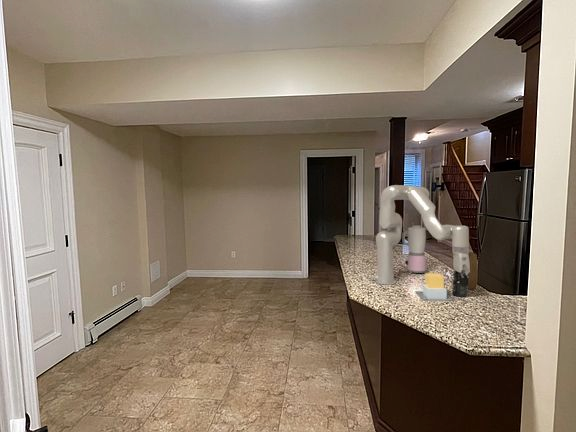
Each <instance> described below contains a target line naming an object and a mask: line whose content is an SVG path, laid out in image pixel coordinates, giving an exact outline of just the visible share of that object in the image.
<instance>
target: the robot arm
mask: <svg viewBox="0 0 576 432" xmlns="http://www.w3.org/2000/svg"><path fill="white" fill-rule="evenodd" d="M396 200H397V201H398V200H401V201H402V200H406V201H410V202H411V204H412V205H413V206H414V207H415V209H416V211H418V213H419V214H420V215H421V219H422V222H423V225H424V228H427V229H426V230H427V231H428V232H429V234H430V235H431V236H432V237H433V238H434V239H436V240H437V241H444V240H448V239H451V242H452V247H451V248H452V254H453V260H452V261H453V263H452V264H453V265H452V266H453V279H455V274H461V276H462V277H461V285H462V286H468V275H469V274H468V273H470V264H469V255H468V253H469V252H470V242H469V241H470V234H469V233H470V231H469V230H470V229H469V227H468V226H467V225H453V224H441V223H440V221H439V220H438V218H437V217H436V214H435V213H436V212H435V211H436V205H435V204H434V203H433V202H432V201H431V199H430V191H429V190H428V189H427V188H426V187H424V186H414V185H406V184H405V185H404V184H403V185H402V184H401V185H399V184H394V185H390V186H389V185H388V186H387V187H385V188H384V189H383V191H382V192H381V195H380V207H379V209H380V210H379V218H378V219H379V220H378V221H379V226H380V227H381V228H382V229H385V230H382V231H380V232H378V233H377V234H376V236H375V244H376V256H377V257H376V258H377V264H376V266H377V272H376V274H374V275H373V274H371V275H369V279H372V280H374V282H375V283H376V284H380V285H387V286H389V285H395V284H396V283H397V280H396V279H395V278H394V277H395V275H394V271H395V270H394V267H395V265H394V264H395V263H394V261H395V260H394V256H395V255H394V249H393V246H395V245H397V244H399V242H400V241H401V240H402V233H403V231H402V230H403V218H402V216H401V215H400V214H399V213H397V212H396V203H395V201H396ZM463 273H464V275H463Z"/></svg>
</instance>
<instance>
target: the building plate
mask: <svg viewBox="0 0 576 432" xmlns="http://www.w3.org/2000/svg"><path fill="white" fill-rule="evenodd" d="M414 293H415V294H416V295H417V296H418V297H419V299H420V300H421V301H424V302H457V300H455V299H454V298H453V296H451V295H449V293H447V299H428V298H427V297H426V296H425V295H424V294H423V290H422V291H421V290H417V291H414Z"/></svg>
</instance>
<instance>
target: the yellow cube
mask: <svg viewBox="0 0 576 432" xmlns="http://www.w3.org/2000/svg"><path fill="white" fill-rule="evenodd" d="M424 275H425V276H424V277H425V278H424V280H425V281H424V284H425V285H426V286H427V287H428V288H439V289H444V287H445V282H444V281H445V277H444V276H443V275H442V274H441V273H438V272H437V273H434V272H432V273H431V272H430V273H427V272H426V273H425V274H424Z"/></svg>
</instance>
